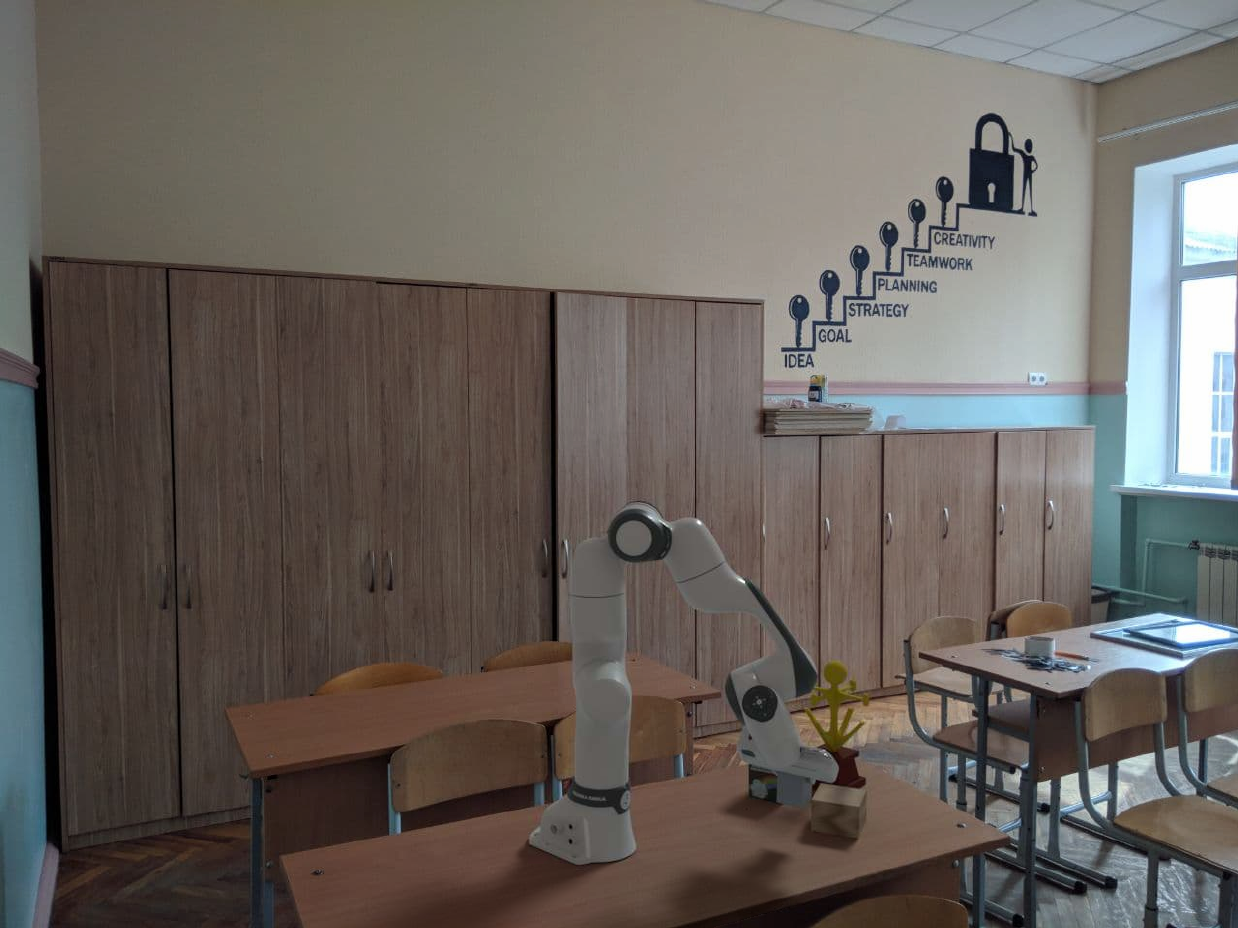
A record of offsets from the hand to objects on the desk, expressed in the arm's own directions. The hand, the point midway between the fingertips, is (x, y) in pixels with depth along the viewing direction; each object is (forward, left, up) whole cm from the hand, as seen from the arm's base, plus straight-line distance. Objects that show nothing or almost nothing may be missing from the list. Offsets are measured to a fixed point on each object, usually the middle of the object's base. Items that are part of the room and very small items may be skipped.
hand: (796, 776), depth 205 cm
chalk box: (-14, +21, -14) cm, 28 cm away
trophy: (-4, +34, -14) cm, 37 cm away
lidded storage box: (0, -1, -5) cm, 5 cm away
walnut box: (+5, +12, -14) cm, 19 cm away
